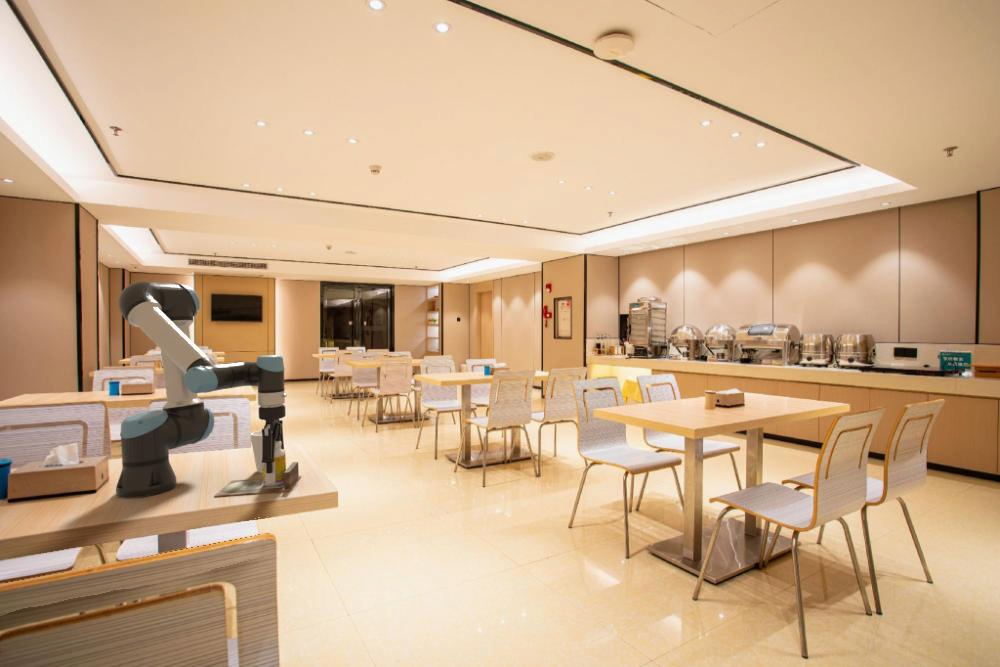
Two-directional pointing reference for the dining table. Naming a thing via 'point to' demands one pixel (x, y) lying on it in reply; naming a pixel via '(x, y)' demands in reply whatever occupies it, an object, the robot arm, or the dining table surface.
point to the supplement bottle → (277, 465)
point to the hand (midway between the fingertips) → (274, 478)
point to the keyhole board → (261, 484)
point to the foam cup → (257, 449)
